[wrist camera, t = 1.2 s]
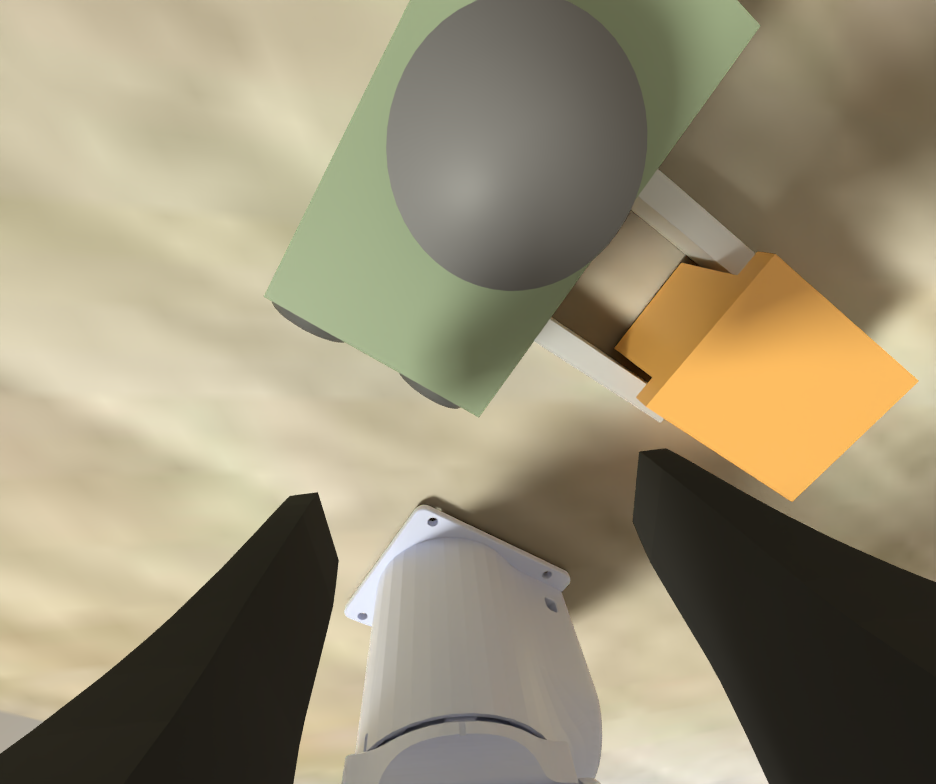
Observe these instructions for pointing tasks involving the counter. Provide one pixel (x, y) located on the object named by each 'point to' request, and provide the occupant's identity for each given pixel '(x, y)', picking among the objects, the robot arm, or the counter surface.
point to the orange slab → (761, 370)
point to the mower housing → (506, 183)
